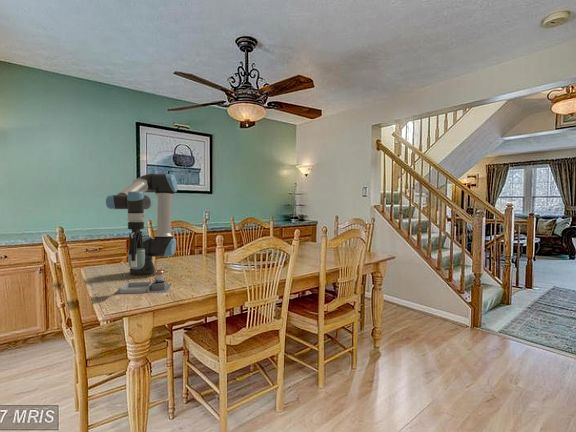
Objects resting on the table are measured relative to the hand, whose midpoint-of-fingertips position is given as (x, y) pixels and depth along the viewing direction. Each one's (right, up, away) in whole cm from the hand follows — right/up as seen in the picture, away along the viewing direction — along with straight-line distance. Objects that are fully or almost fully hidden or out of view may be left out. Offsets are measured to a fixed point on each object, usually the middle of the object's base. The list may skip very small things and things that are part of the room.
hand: (136, 265), depth 164 cm
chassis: (+4, -14, +2) cm, 15 cm away
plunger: (+11, -9, +2) cm, 14 cm away
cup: (0, -2, 0) cm, 2 cm away
